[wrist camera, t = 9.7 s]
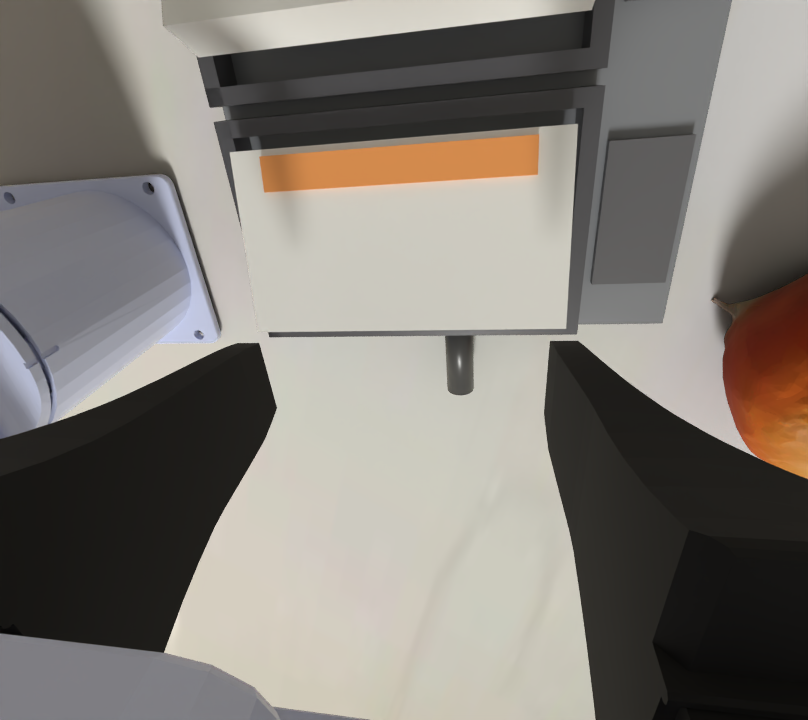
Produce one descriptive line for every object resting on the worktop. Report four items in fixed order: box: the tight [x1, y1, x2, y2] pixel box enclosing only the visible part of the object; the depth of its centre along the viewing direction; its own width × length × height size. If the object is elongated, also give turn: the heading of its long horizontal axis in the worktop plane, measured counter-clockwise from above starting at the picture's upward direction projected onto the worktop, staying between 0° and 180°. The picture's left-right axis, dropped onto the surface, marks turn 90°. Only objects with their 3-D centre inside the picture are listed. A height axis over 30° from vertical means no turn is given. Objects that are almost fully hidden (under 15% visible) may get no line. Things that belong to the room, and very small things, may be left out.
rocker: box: [230, 124, 578, 332], centre depth 15 cm, size 10×6×2 cm, turn 95°
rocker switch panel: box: [197, 0, 732, 395], centre depth 14 cm, size 15×28×4 cm, turn 5°
